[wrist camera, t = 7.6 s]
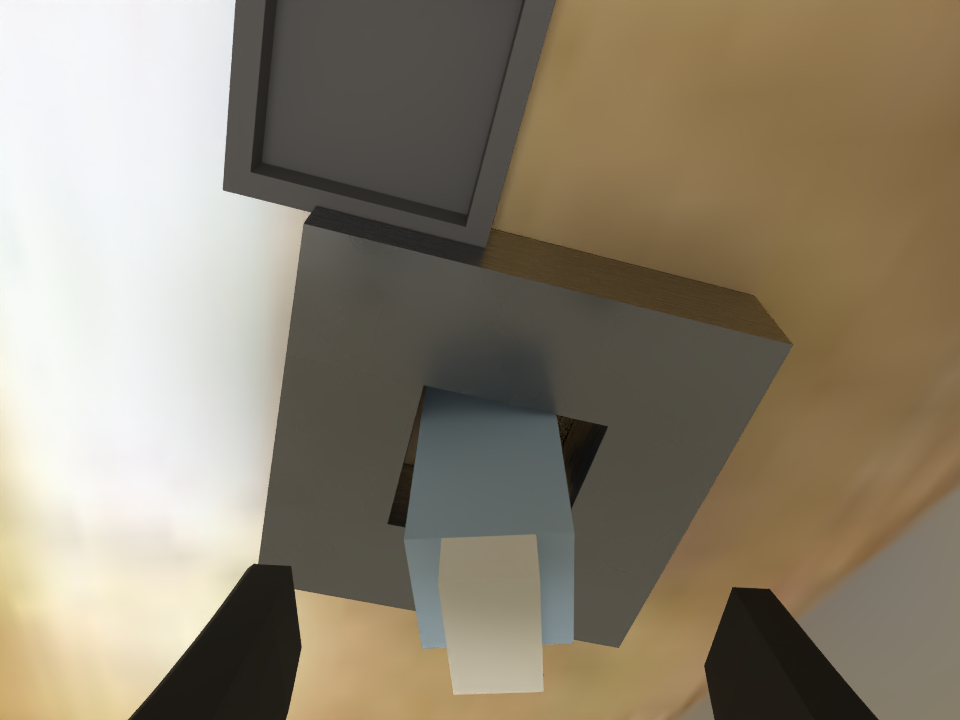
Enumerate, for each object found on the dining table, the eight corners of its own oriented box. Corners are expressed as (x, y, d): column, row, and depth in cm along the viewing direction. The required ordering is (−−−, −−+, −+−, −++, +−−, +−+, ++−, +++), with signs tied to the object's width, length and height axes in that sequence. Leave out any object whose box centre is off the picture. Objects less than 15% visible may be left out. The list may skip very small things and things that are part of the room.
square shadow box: (558, -34, 15) (564, -33, 14) (483, 234, 18) (483, 255, 17) (266, -123, 14) (244, -131, 13) (242, 172, 17) (222, 190, 16)
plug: (548, 361, 20) (581, 577, 13) (550, 456, 22) (579, 690, 15) (428, 367, 20) (396, 584, 13) (440, 460, 22) (417, 696, 15)
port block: (754, 295, 19) (792, 344, 17) (606, 581, 25) (618, 647, 22) (329, 187, 17) (304, 223, 15) (279, 518, 23) (255, 582, 21)
